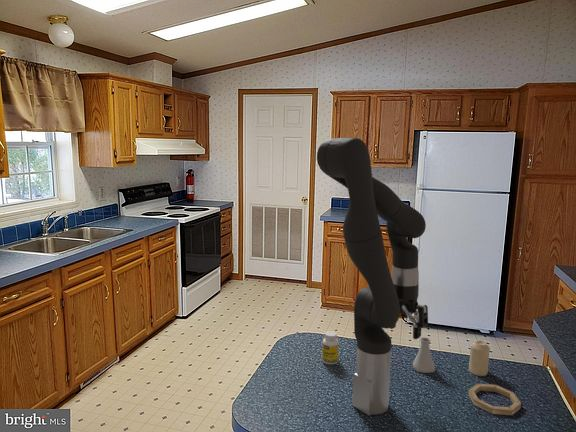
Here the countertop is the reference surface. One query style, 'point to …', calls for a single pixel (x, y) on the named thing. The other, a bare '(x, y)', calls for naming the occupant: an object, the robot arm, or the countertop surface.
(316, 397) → the countertop surface
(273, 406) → the countertop surface
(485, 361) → the candle
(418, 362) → the flask
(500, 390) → the maple ring
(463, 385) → the countertop surface
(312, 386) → the countertop surface
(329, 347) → the supplement bottle
